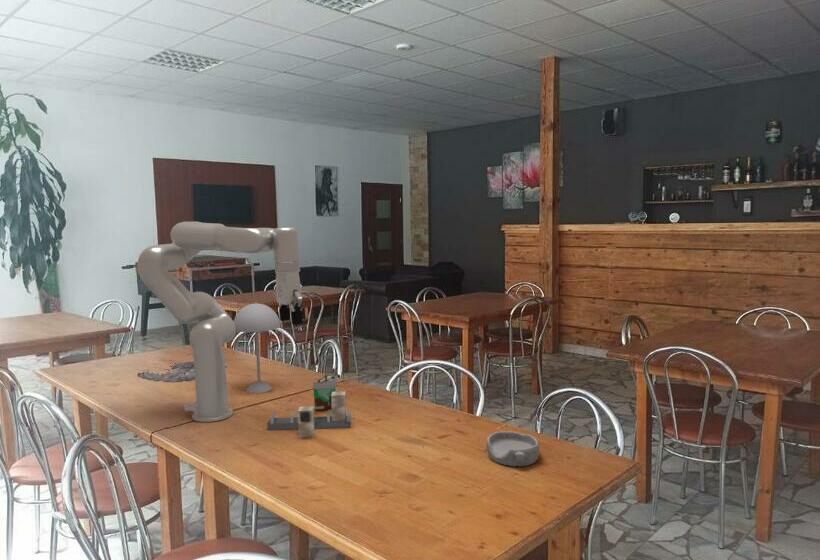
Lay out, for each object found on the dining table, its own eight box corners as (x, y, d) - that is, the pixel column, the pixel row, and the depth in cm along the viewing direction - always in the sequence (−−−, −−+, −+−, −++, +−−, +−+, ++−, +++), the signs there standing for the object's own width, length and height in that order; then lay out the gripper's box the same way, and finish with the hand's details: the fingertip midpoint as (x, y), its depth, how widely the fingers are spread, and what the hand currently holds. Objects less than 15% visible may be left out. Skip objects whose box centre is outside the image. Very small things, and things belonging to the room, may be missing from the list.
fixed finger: (329, 421, 182) (328, 395, 181) (330, 416, 186) (329, 391, 185) (345, 420, 182) (344, 395, 181) (346, 416, 186) (345, 391, 185)
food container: (331, 413, 195) (330, 383, 194) (313, 412, 196) (312, 382, 195) (342, 401, 207) (342, 373, 206) (326, 401, 208) (325, 373, 207)
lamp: (243, 383, 232) (240, 299, 229) (287, 383, 232) (284, 298, 228) (229, 396, 215) (224, 306, 212) (276, 396, 215) (272, 305, 211)
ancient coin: (164, 361, 272) (164, 360, 271) (237, 362, 267) (237, 362, 267) (119, 381, 239) (119, 380, 239) (201, 383, 234) (201, 382, 234)
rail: (267, 430, 181) (266, 417, 180) (270, 424, 186) (270, 411, 185) (350, 427, 182) (349, 414, 181) (351, 421, 187) (350, 409, 186)
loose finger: (298, 438, 173) (297, 411, 172) (300, 432, 178) (300, 406, 177) (312, 438, 173) (311, 411, 173) (314, 432, 178) (313, 406, 177)
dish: (528, 472, 148) (528, 453, 148) (477, 461, 156) (477, 443, 155) (547, 453, 160) (547, 435, 160) (499, 443, 168) (499, 426, 167)
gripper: (266, 267, 189) (269, 320, 191) (286, 269, 175) (290, 327, 177) (288, 265, 194) (291, 317, 195) (310, 267, 179) (313, 323, 181)
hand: (291, 322), depth 186 cm, fingers open, 9 cm apart
